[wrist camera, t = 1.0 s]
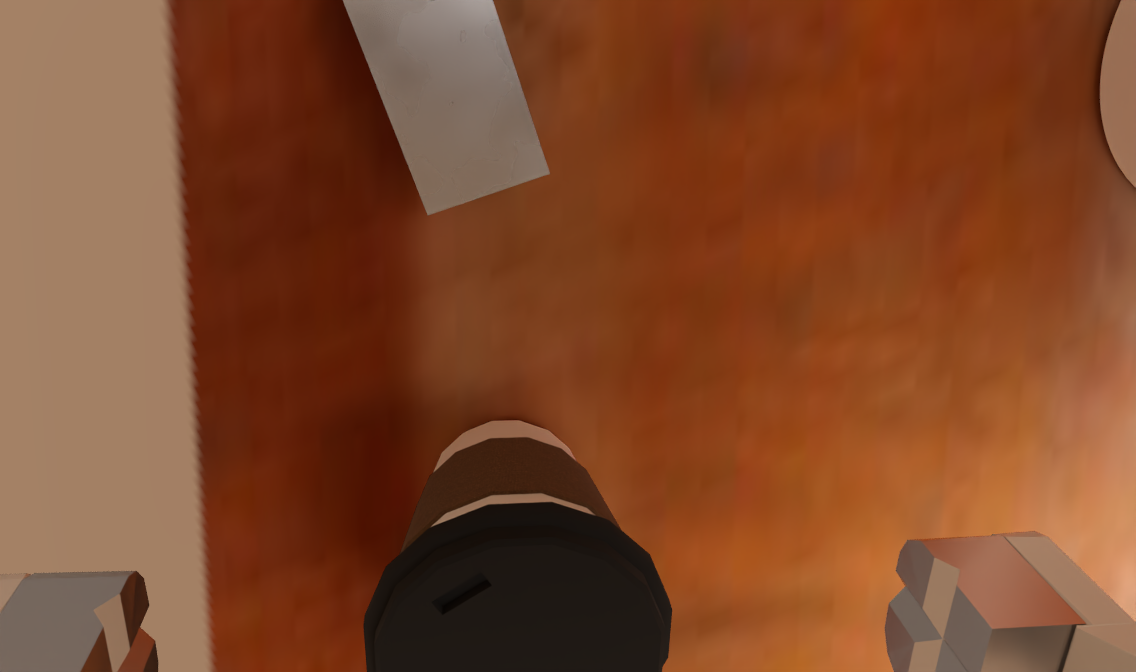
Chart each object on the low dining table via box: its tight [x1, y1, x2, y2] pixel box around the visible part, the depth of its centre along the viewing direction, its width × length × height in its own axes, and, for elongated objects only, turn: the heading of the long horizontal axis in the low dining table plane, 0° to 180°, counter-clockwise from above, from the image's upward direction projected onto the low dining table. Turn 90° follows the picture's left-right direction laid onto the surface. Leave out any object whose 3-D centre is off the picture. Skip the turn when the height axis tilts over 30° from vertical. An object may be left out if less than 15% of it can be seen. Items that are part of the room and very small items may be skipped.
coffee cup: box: [364, 420, 672, 672], centre depth 37 cm, size 11×11×12 cm
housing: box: [343, 0, 550, 215], centre depth 33 cm, size 4×8×5 cm, turn 18°
